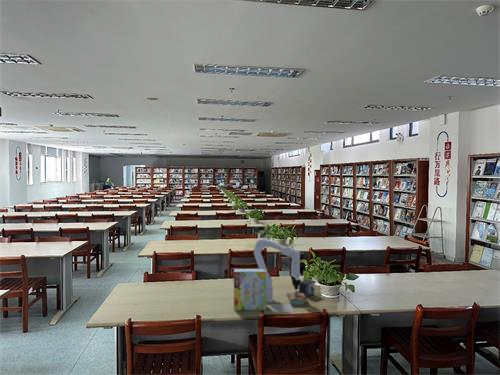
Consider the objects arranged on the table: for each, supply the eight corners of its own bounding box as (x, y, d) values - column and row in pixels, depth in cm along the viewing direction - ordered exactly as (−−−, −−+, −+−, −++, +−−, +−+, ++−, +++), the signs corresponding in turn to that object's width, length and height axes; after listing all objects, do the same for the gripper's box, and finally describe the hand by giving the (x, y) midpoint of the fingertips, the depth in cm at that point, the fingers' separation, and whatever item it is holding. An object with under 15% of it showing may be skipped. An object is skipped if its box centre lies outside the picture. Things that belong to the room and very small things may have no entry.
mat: (272, 312, 224) (272, 312, 224) (270, 304, 238) (270, 304, 238) (293, 312, 225) (293, 312, 225) (290, 304, 239) (290, 303, 239)
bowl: (290, 305, 237) (290, 299, 237) (288, 300, 247) (288, 294, 247) (305, 305, 237) (305, 299, 237) (302, 300, 247) (302, 294, 247)
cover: (289, 300, 236) (289, 294, 235) (286, 294, 248) (286, 288, 247) (306, 300, 236) (306, 294, 236) (303, 294, 248) (303, 288, 248)
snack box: (265, 305, 236) (266, 268, 235) (266, 310, 228) (267, 271, 227) (233, 305, 235) (234, 268, 235) (233, 310, 227) (233, 271, 226)
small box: (304, 298, 252) (304, 283, 251) (298, 295, 257) (298, 281, 256) (314, 295, 258) (315, 281, 257) (308, 292, 263) (308, 279, 263)
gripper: (303, 271, 236) (302, 290, 236) (299, 265, 250) (299, 284, 251) (292, 271, 235) (292, 290, 236) (289, 265, 250) (289, 284, 250)
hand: (295, 287), depth 243 cm, fingers open, 7 cm apart
